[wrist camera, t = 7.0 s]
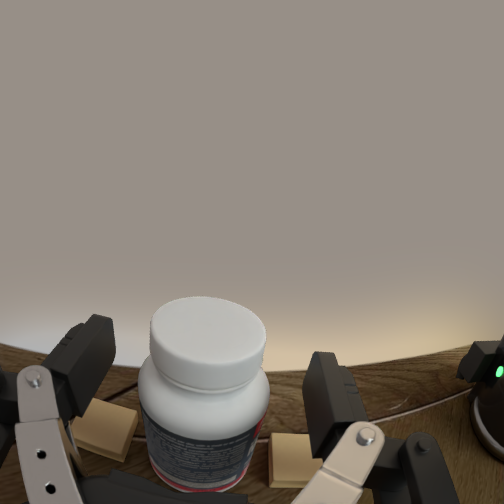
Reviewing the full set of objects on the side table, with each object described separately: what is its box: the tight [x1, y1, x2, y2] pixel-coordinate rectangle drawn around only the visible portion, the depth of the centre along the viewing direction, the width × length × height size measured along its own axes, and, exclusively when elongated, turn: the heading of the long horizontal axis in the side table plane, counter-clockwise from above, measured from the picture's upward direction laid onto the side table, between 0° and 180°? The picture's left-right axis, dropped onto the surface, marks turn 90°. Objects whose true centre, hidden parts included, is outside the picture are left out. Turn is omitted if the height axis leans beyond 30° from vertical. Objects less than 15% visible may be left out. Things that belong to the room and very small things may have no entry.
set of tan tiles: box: [71, 398, 323, 488], centre depth 13 cm, size 3×18×1 cm, turn 89°
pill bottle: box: [138, 296, 270, 492], centre depth 11 cm, size 5×5×9 cm
